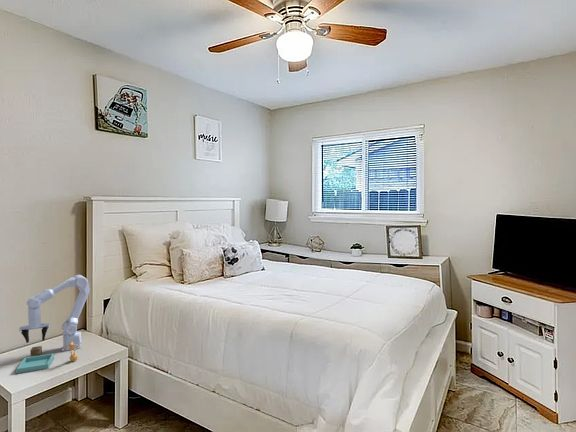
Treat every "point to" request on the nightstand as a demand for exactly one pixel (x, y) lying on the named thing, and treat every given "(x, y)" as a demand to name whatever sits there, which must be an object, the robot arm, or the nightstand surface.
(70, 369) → the nightstand surface
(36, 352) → the walnut block
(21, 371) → the teal tray
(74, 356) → the figurine
